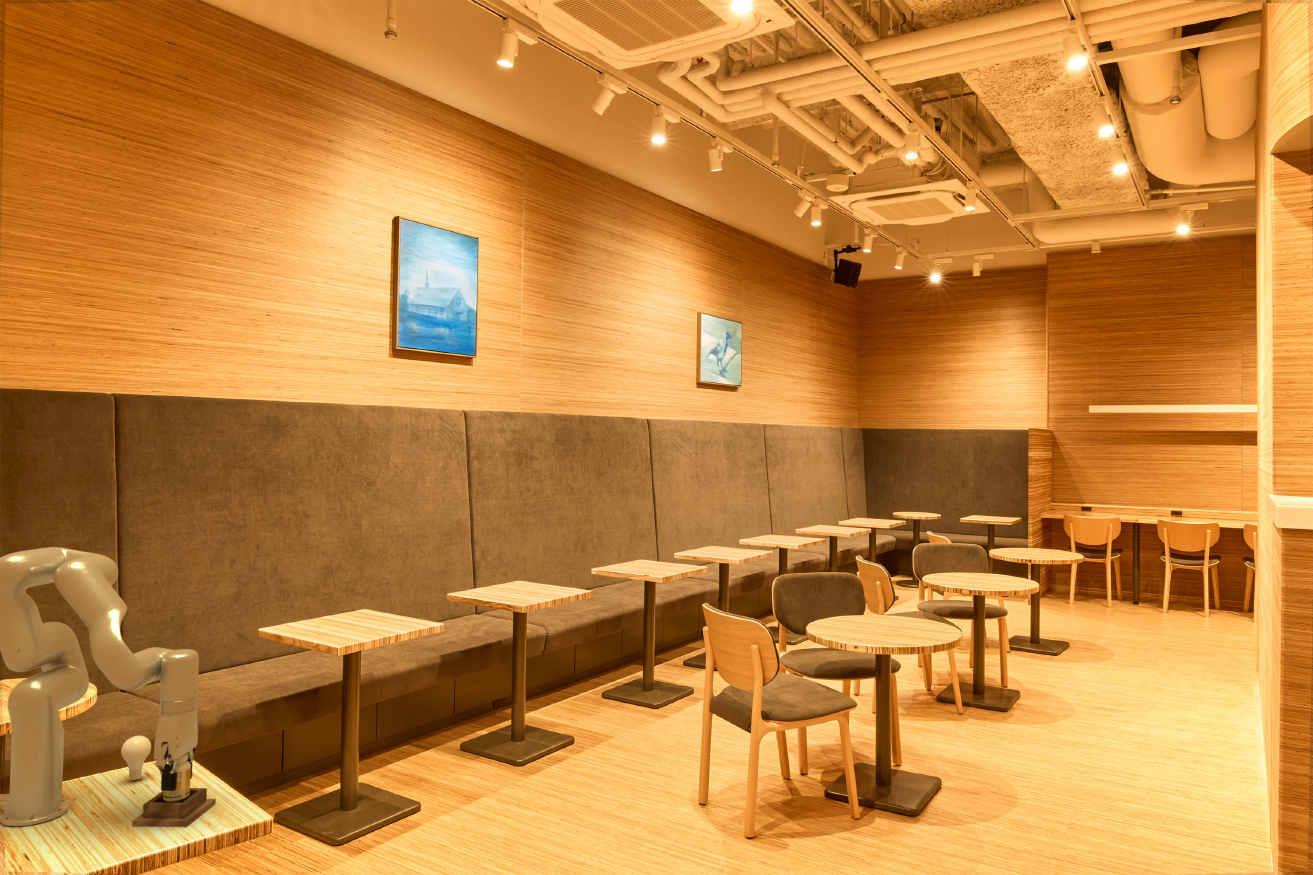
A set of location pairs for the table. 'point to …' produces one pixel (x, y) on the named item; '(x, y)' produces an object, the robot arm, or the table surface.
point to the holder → (174, 810)
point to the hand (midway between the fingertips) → (176, 783)
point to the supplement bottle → (180, 780)
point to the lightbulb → (135, 755)
